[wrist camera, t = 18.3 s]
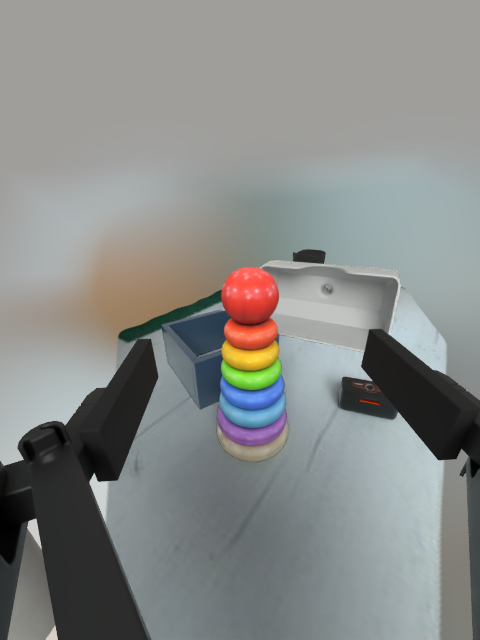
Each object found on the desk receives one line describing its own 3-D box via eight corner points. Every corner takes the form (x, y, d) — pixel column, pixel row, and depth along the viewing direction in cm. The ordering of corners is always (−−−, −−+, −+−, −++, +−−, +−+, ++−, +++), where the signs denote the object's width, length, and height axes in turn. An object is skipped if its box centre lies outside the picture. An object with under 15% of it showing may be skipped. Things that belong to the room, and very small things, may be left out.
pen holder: (326, 288, 76) (330, 254, 72) (295, 289, 75) (297, 255, 71) (315, 279, 84) (319, 249, 80) (288, 280, 84) (289, 250, 80)
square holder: (167, 362, 42) (161, 324, 39) (233, 340, 48) (232, 306, 45) (199, 409, 32) (194, 363, 29) (277, 374, 38) (279, 333, 35)
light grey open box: (385, 320, 55) (399, 262, 50) (385, 356, 42) (404, 283, 37) (276, 303, 66) (278, 254, 60) (249, 328, 53) (249, 268, 48)
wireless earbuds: (404, 424, 29) (411, 403, 28) (338, 410, 32) (342, 389, 30) (396, 398, 33) (402, 378, 32) (338, 387, 35) (341, 367, 34)
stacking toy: (301, 431, 29) (319, 266, 21) (256, 483, 24) (257, 290, 16) (249, 398, 34) (248, 256, 26) (202, 435, 29) (183, 271, 21)
